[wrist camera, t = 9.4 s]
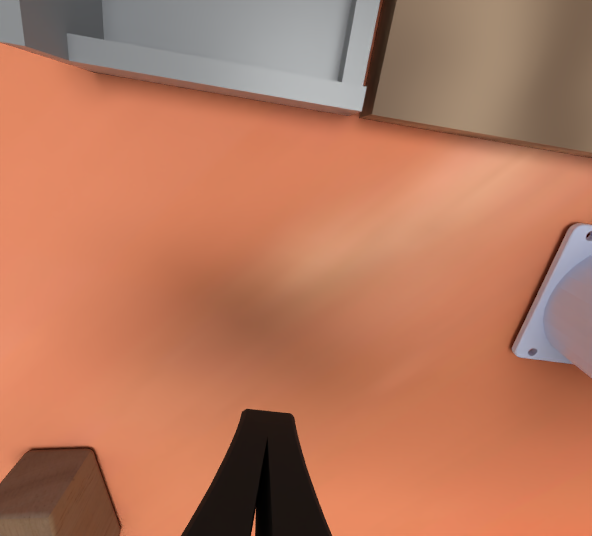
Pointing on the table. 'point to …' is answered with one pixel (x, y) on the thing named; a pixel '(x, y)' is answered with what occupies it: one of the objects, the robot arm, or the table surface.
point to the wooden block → (56, 496)
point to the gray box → (210, 44)
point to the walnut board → (486, 70)
